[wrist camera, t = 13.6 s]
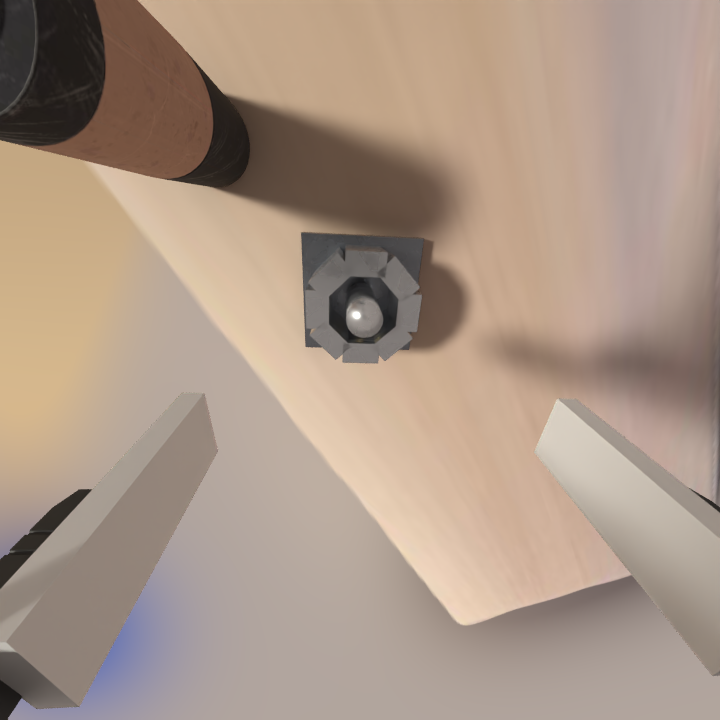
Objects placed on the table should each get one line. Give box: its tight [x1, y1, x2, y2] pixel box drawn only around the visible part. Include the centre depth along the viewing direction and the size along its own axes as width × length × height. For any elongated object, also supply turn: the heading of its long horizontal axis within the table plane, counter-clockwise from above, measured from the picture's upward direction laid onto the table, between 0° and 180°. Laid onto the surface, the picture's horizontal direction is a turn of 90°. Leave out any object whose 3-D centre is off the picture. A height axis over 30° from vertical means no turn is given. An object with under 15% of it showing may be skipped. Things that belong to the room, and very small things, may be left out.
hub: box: [305, 245, 422, 363], centre depth 28 cm, size 10×10×6 cm
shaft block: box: [301, 232, 424, 350], centre depth 28 cm, size 12×12×10 cm
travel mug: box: [0, 0, 250, 187], centre depth 16 cm, size 8×8×20 cm
